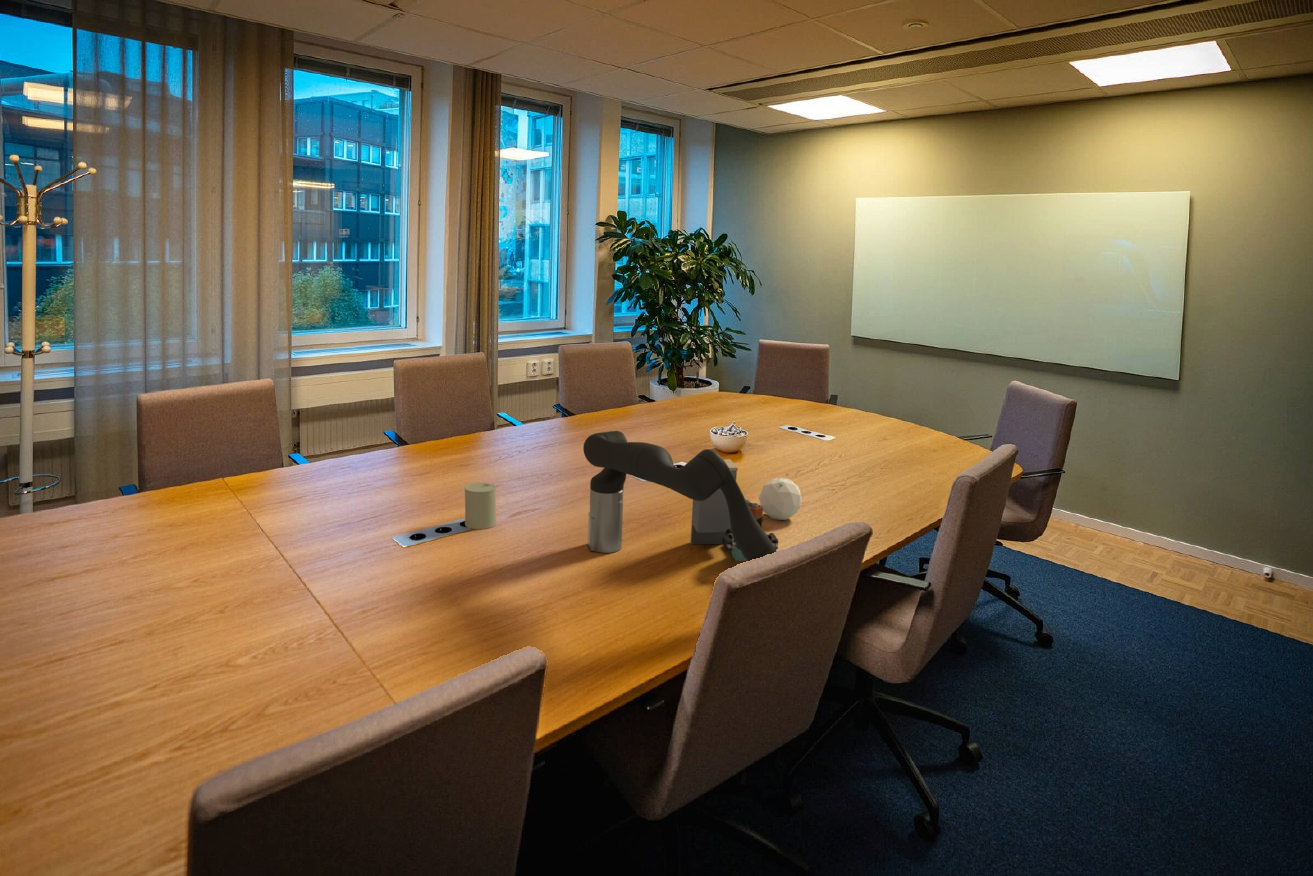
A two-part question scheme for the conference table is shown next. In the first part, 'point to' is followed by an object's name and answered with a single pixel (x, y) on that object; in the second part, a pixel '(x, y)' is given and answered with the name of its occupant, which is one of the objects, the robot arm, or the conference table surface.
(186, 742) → the conference table surface
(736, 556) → the green piece
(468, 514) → the can
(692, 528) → the cabinet
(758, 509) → the battery
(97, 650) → the conference table surface
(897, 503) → the conference table surface
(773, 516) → the geodesic sphere
